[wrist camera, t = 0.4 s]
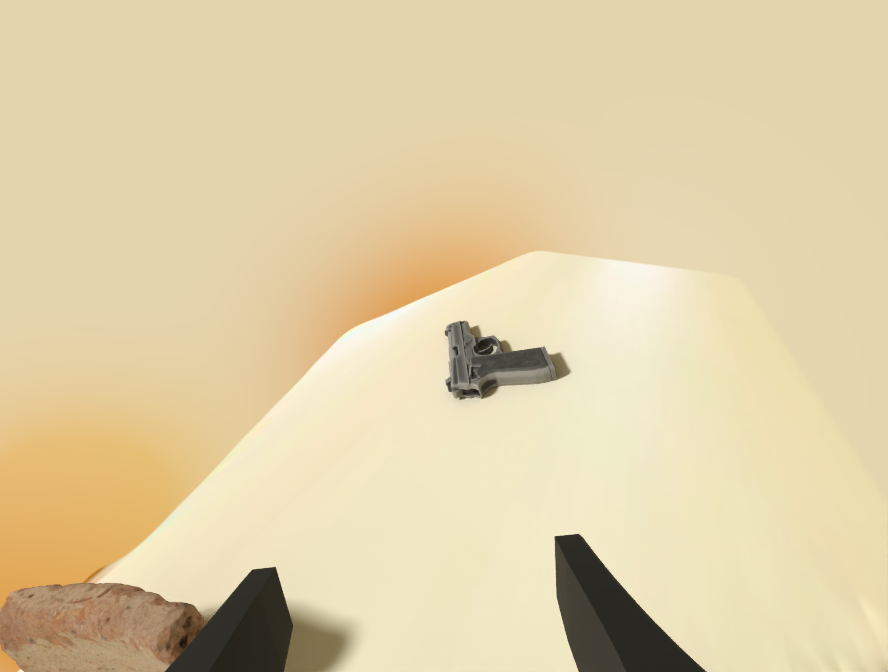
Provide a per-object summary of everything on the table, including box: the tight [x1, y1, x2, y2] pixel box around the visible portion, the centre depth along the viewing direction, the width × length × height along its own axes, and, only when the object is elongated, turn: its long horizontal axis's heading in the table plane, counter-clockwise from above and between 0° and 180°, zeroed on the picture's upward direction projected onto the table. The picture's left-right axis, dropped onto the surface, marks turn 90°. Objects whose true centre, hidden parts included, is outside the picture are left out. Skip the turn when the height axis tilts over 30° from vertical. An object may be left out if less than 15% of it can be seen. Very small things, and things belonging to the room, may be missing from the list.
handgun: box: [445, 321, 557, 399], centre depth 56 cm, size 2×17×12 cm
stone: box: [0, 583, 207, 672], centre depth 31 cm, size 19×10×4 cm
